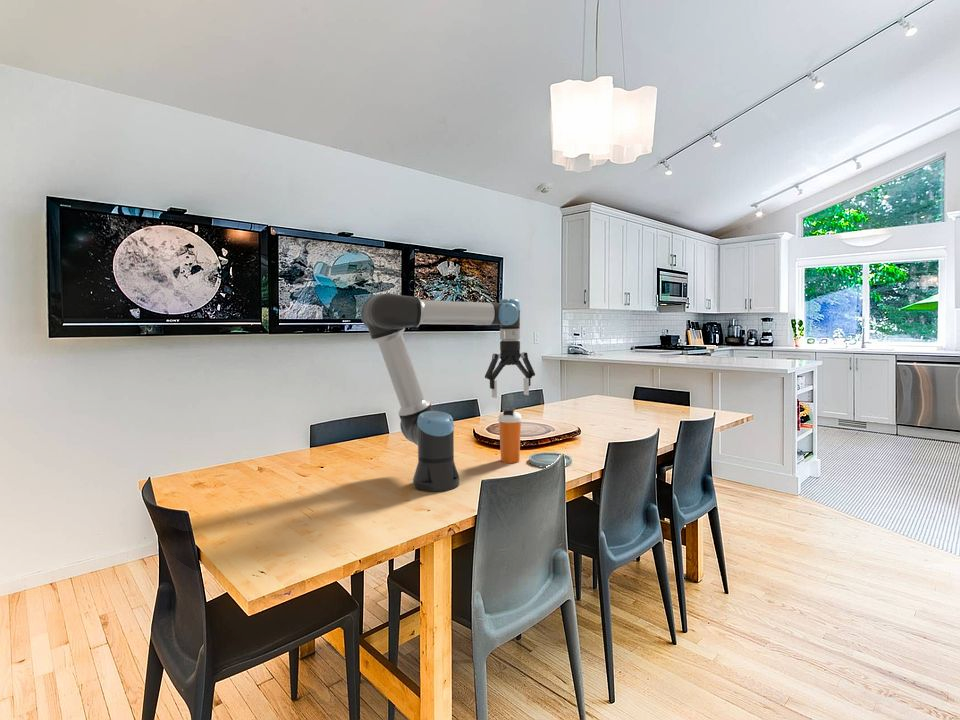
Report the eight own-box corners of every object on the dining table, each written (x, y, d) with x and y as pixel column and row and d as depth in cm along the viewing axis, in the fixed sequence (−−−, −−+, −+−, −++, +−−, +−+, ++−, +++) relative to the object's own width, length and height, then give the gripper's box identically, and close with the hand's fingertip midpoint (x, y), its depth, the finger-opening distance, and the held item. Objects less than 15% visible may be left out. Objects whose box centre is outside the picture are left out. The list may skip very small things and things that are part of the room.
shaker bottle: (521, 457, 200) (521, 407, 198) (521, 464, 191) (521, 411, 189) (499, 457, 201) (499, 407, 199) (497, 463, 192) (497, 411, 190)
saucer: (542, 470, 183) (542, 465, 183) (521, 459, 198) (521, 455, 198) (580, 464, 190) (580, 460, 190) (556, 454, 204) (556, 450, 204)
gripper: (483, 341, 184) (484, 399, 186) (543, 339, 194) (543, 395, 196) (475, 340, 191) (476, 397, 192) (533, 339, 201) (534, 392, 202)
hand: (510, 396), depth 194 cm, fingers open, 13 cm apart
